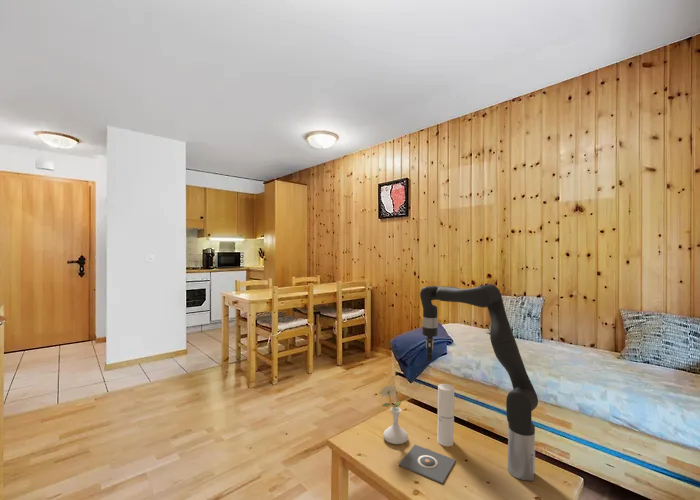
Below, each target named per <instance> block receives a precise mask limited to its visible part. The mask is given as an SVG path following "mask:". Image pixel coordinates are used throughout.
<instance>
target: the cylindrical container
mask: <svg viewBox="0 0 700 500" xmlns="http://www.w3.org/2000/svg"><path fill="white" fill-rule="evenodd" d="M436 426H437V433H436V436H437V438H436V441H437V443H438V444H439V445H441V446H443V447H452V446H453V445H454V435H455V432H454V431H455V429H454V428H455V387H454V386H453V385H452V384H449V383H439V384H438V385H437V425H436Z"/></svg>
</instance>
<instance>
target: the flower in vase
mask: <svg viewBox="0 0 700 500" xmlns="http://www.w3.org/2000/svg"><path fill="white" fill-rule="evenodd" d="M395 393H397V388H396V386H395V385H393V384H391V385H390V384H389V385H385V386H384V387H383V388H381V390H380V392H379V394H380V396H381V397H382V398H383V397H384V398H386V397H387V398H388V397H389V402H390V403H389V402H385V403H383V404H382V405H381V407H387V408H388V407H390V406H391V407H390V412H391V413H392V425H391V426H389V427H386V429H385V430H384V431H383V434H382V436H383V439H384V440H385V441H386V442H387V443H390V444H394V445H402V444H404V443H406V442H407V441H408V439H409V436H408V433H407V431H406V430H405V429H404V428H402V427H401V426H400V425H399V417H400V414H401V412H402V408H400V405H401V403H402V402H401V401H402V400H399V401H397V402H395V403H394V405H393V404H392V400H391V396H393V395H395Z"/></svg>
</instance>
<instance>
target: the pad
mask: <svg viewBox="0 0 700 500" xmlns="http://www.w3.org/2000/svg"><path fill="white" fill-rule="evenodd" d="M456 461H457V460H456V459H455V458H451V457H449V456H446V455H443V454H442V453H438V452H436V451H433V450H431V449H428V448H425V447H423V446H420V445H418V444H414V445H413V446H412V448H411V449H410V450H409V451H408V452H407V454H406V455H405V456H404V457H403V459H401V461H400V462H399V463H398V466H399V467H402V468H404V469H406V470H408V471H411V472H413V473H416V474H417V475H420V476H422V477H424V478H427V479H429V480H432V481H434V482H437V483H438V484H441V485H444V483H445V480H446V479H447V477H448V476H449V473H450V472H451V471H452V469H453V467H454V466H455V463H456Z"/></svg>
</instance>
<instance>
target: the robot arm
mask: <svg viewBox="0 0 700 500" xmlns="http://www.w3.org/2000/svg"><path fill="white" fill-rule="evenodd" d="M419 297H420V301H421V305H422V321H421V322H422V323H421V324H422V327H421V329H422V330H421V334H422V335H423V336H425V337H426V338H425V348H426V361H427V362H432V361H433V359H432V358H433V349H434V342H435V339H434V338H433V337H437V336H438V332H439V330H438V327H439V325H438V322H439V321H438V306H437V305H434V304H433V302H432V301H439V302H449V303H450V302H451V303H462V304H467V305H469V306H470V305H471V306H475V307H479V308H483V309H484V308H487V310H488V312H489V313H488V314H489V316H490V329H489V331H490V332H489V333H490V334H489V339H490V343H491V346H492V349H493V353H494V355H495V357H496V358H497V360H498V361H499V363H500V364H501V366H502V367H503V368H504V369H505V371H506V372H507V374H508V376H509V379H510V381H511V386H512V390H510V391H509V392H508V393H507V396H506V399H505V401H506V404H505V405H506V407H505V408H506V411H505V412H506V413H505V414H506V421H507V423H508V424H507V425H508V429H507V430H508V431H507V433H508V434H507V436H508V437H507V440H508V441H507V471H508V473H509V474H510V475H511V476H513V477H514V478H516V479H519V480H522V481H531V482H534V478H535V473H536V472H535V471H536V469H535V468H536V464H535V463H536V448H535V438H536V436H535V435H536V426H535V424H534V423H533V421H532V411H534V410H535V409H536V408H537V407H538V405H539V397H538V394H537V392H536V390H535V388H534V386H533V384H532V383H533V382H532V381H531V379H530V377H529V375H528V373H527V370H526V367H525V364H524V362H523V359H522V356H521V353H520V351H519V346H518V343H517V342H516V338H515V335H514V333H513V331H512V327H511V325H510V322H509V319H508V316H507V312H506V309H505V304H504V300H503V296H502V293H501V291H500V289H499V288H498V287H497V286H496V285H494V284H493V283H492V284H491V283H490V284H489V283H487V284H481V285H478V286H477V287H476V286H475V287H471V288H459V287H455V286H440V285H439V286H438V285H430V286H424V287H422V288H421V289H420V293H419Z"/></svg>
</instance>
